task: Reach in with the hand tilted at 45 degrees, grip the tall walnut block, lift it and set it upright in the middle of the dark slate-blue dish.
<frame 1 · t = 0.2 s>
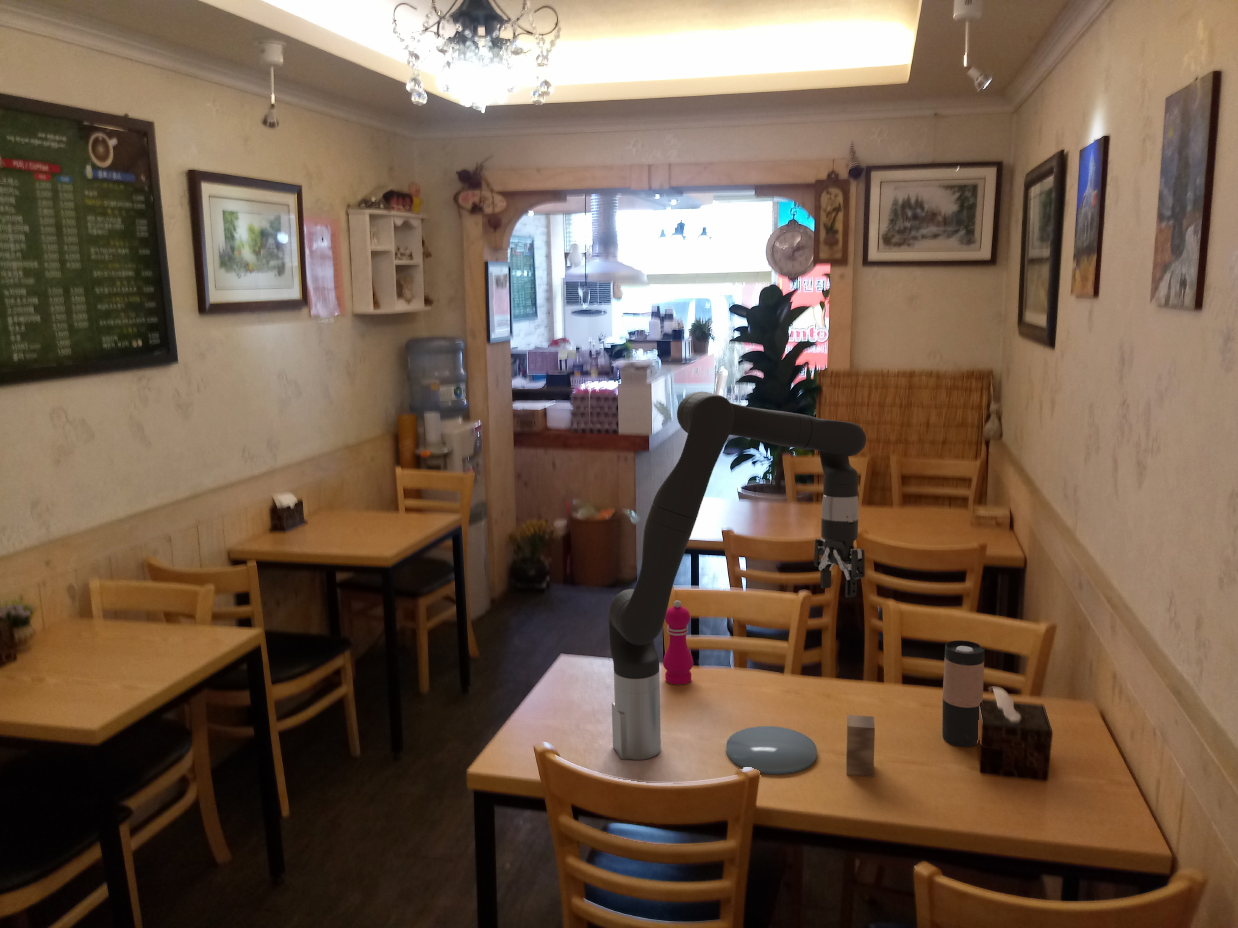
hand: (838, 592, 197), 29 cm above the table, tool pointing down, fingers open, 8 cm apart
travel mug: (960, 739, 192), on the table
slate dish: (771, 751, 188), on the table
pepper mill: (678, 680, 224), on the table
walnut block: (859, 769, 181), on the table
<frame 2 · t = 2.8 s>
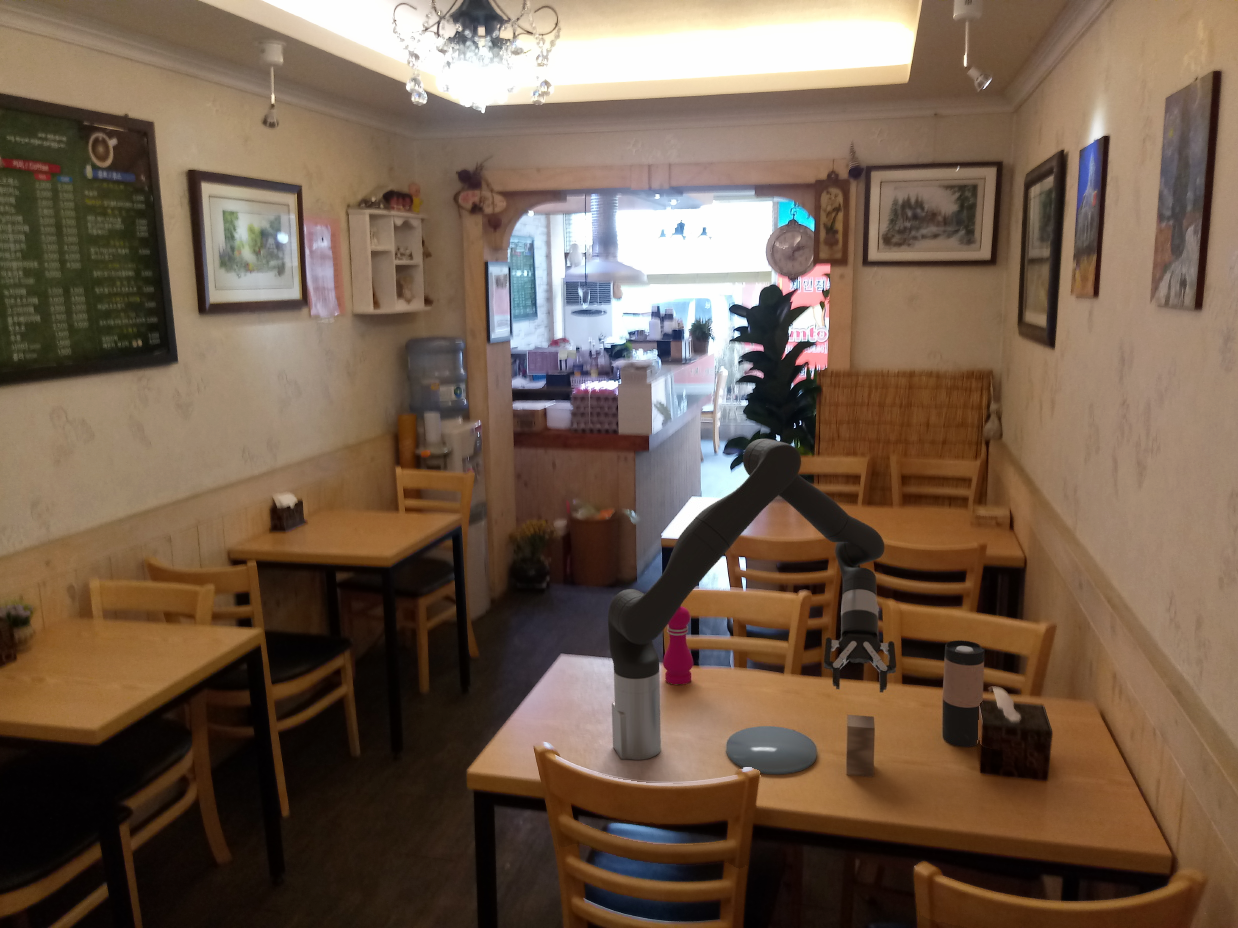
hand: (859, 689, 187), 12 cm above the table, tool tilted 45°, fingers open, 8 cm apart
nothing on the table moved.
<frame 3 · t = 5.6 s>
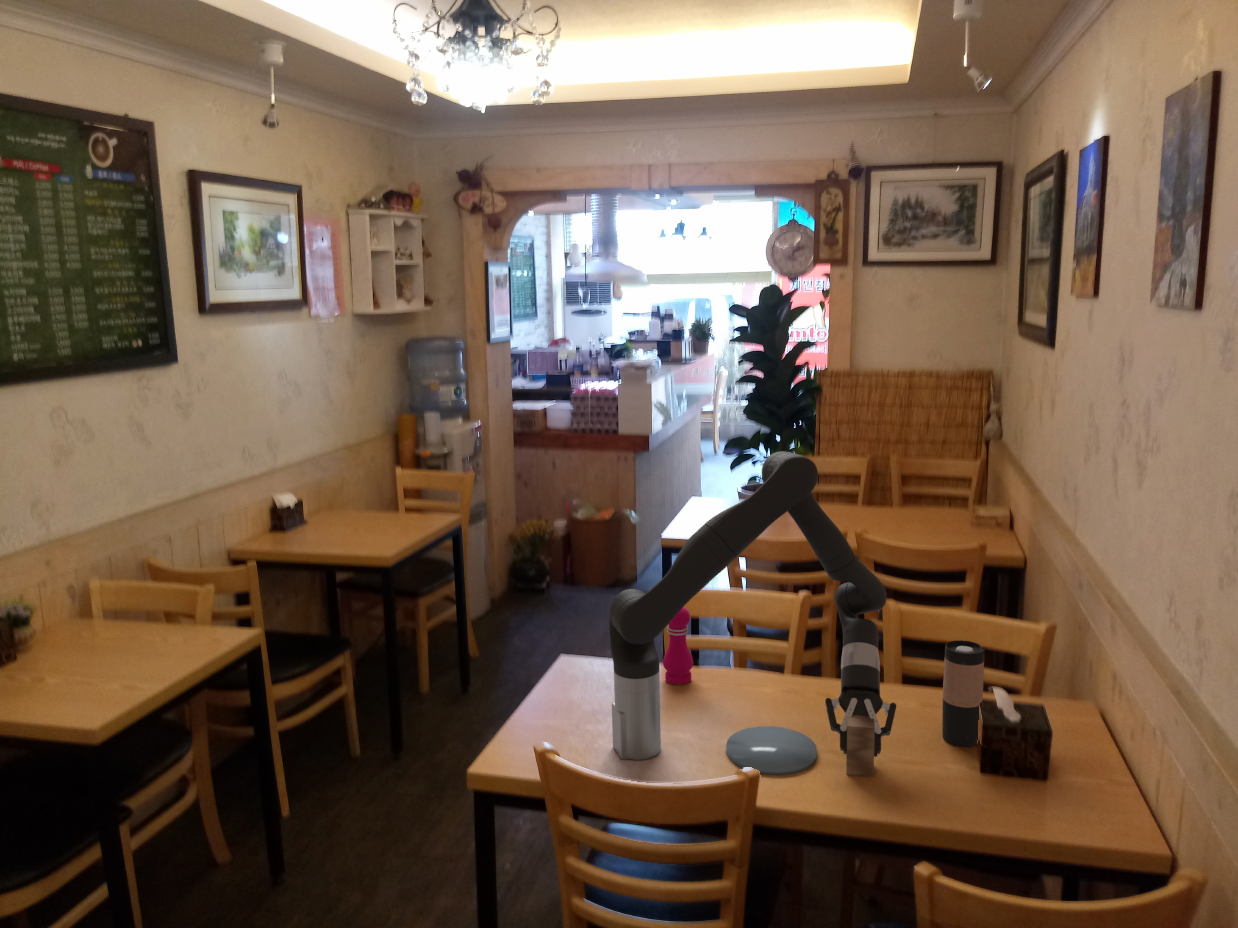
hand: (860, 753, 178), 4 cm above the table, tool tilted 45°, fingers closed on walnut block, 5 cm apart
walnut block: (859, 769, 181), on the table, touching gripper
everything else where it was.
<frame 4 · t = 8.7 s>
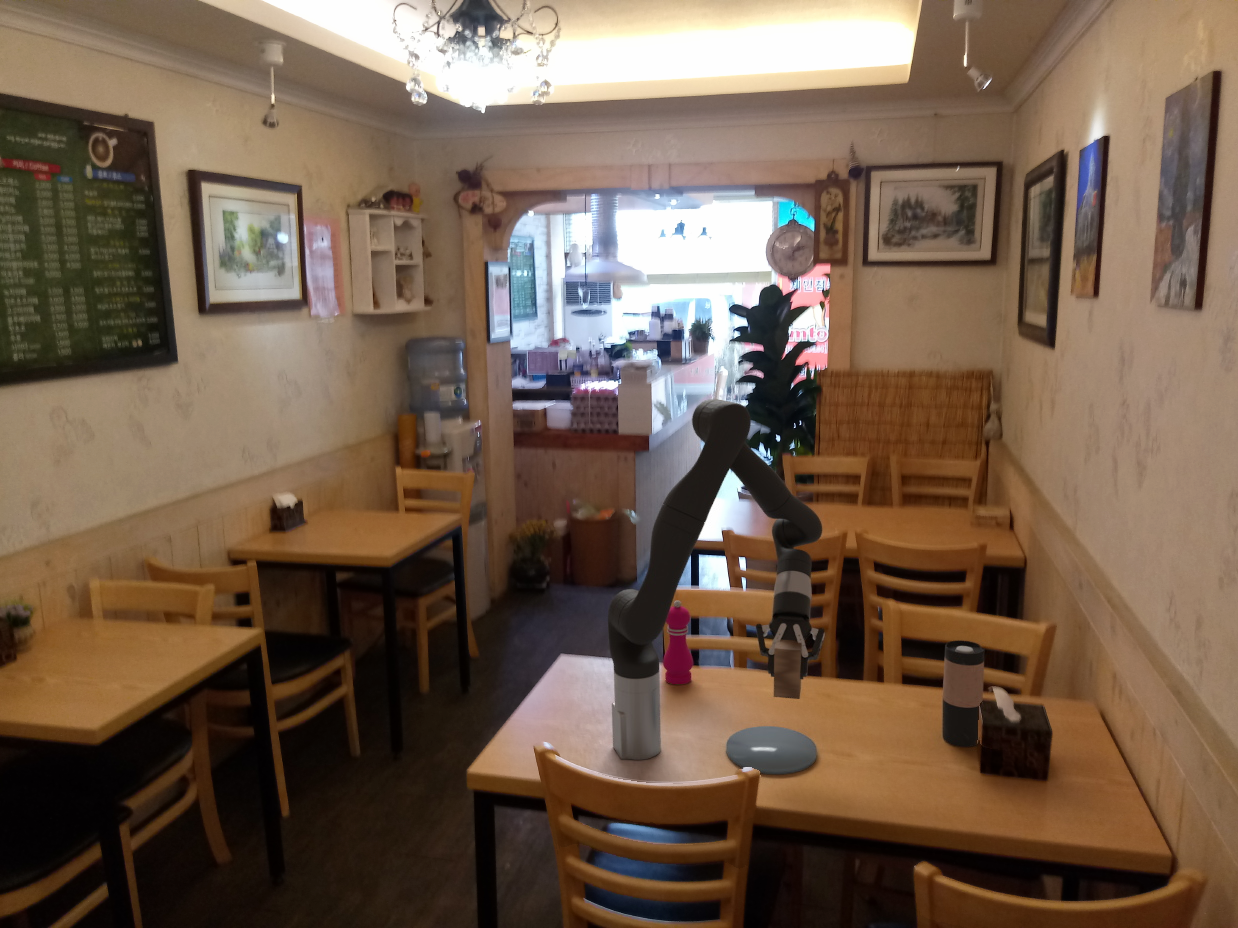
hand: (787, 676, 181), 18 cm above the table, tool tilted 45°, fingers closed on walnut block, 5 cm apart
walnut block: (787, 692, 184), point 14 cm above the table, touching gripper
everything else where it was.
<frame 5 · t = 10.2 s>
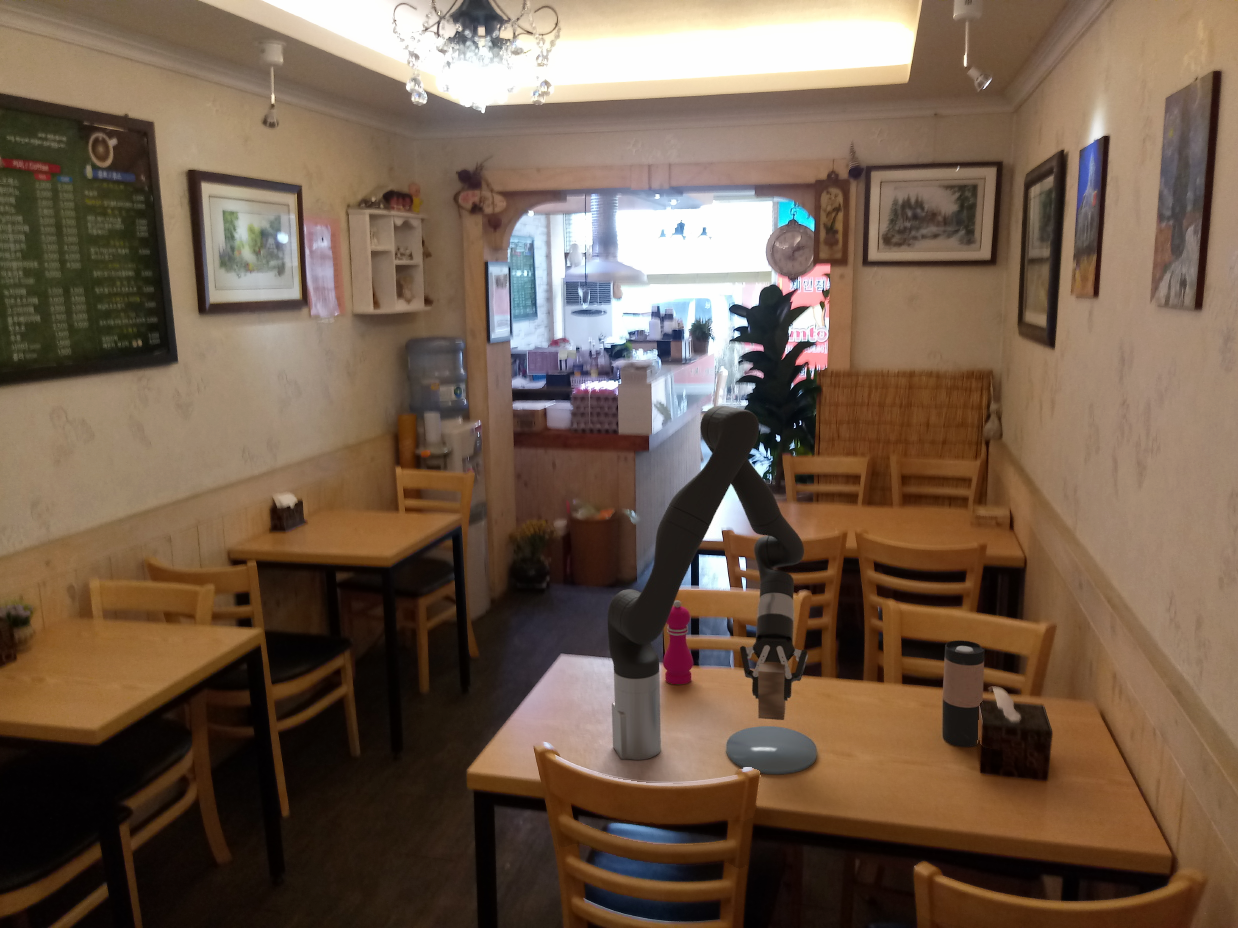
hand: (771, 697, 184), 12 cm above the table, tool tilted 45°, fingers closed on walnut block, 5 cm apart
walnut block: (772, 713, 187), point 8 cm above the table, touching gripper
everything else where it was.
when the fingers open (7 cm above the table, at t = 11.6 s): walnut block drops 1 cm, resting on slate dish.
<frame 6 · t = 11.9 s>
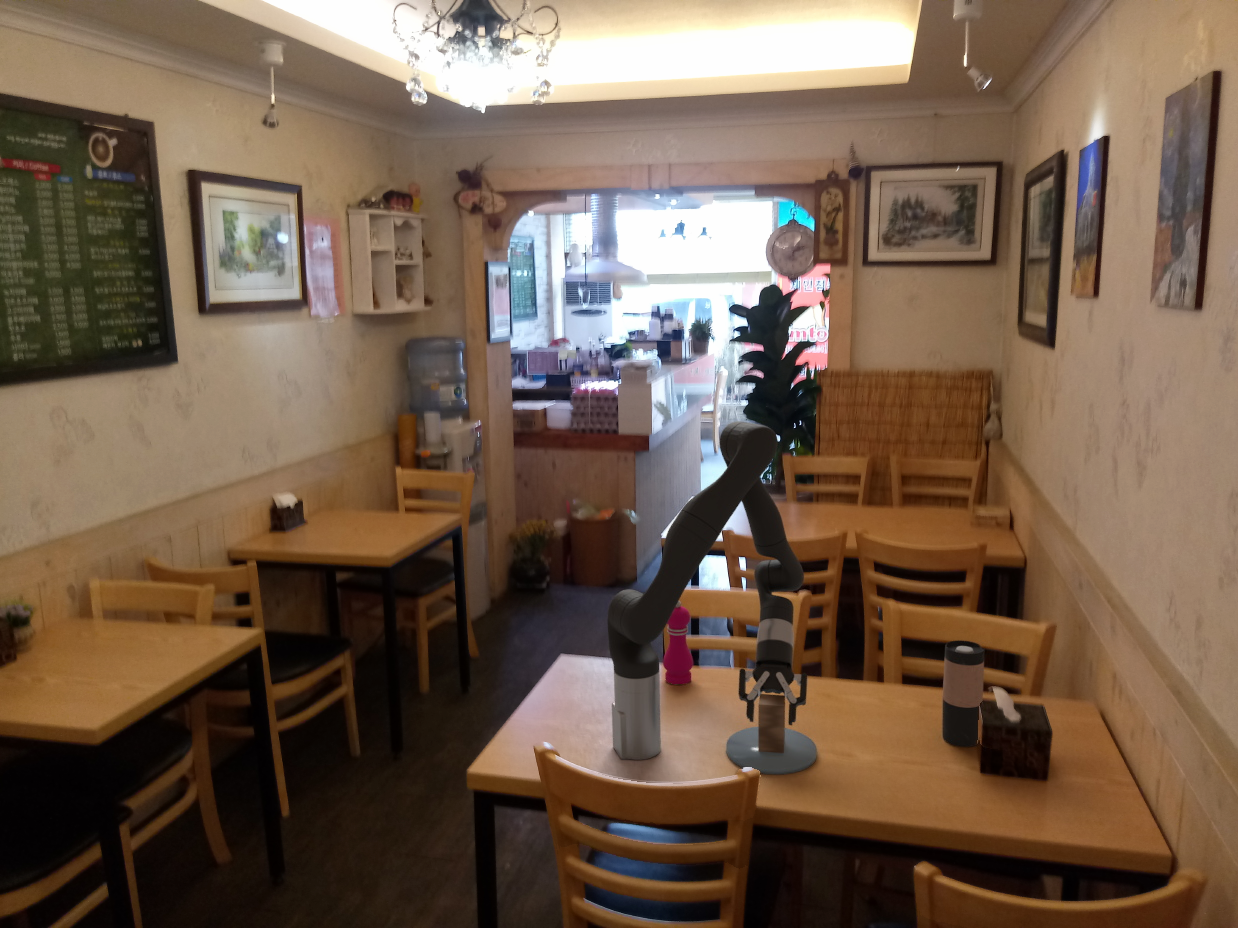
hand: (770, 721, 185), 7 cm above the table, tool tilted 45°, fingers open, 7 cm apart
walnut block: (771, 746, 188), point 1 cm above the table, touching slate dish
everything else where it was.
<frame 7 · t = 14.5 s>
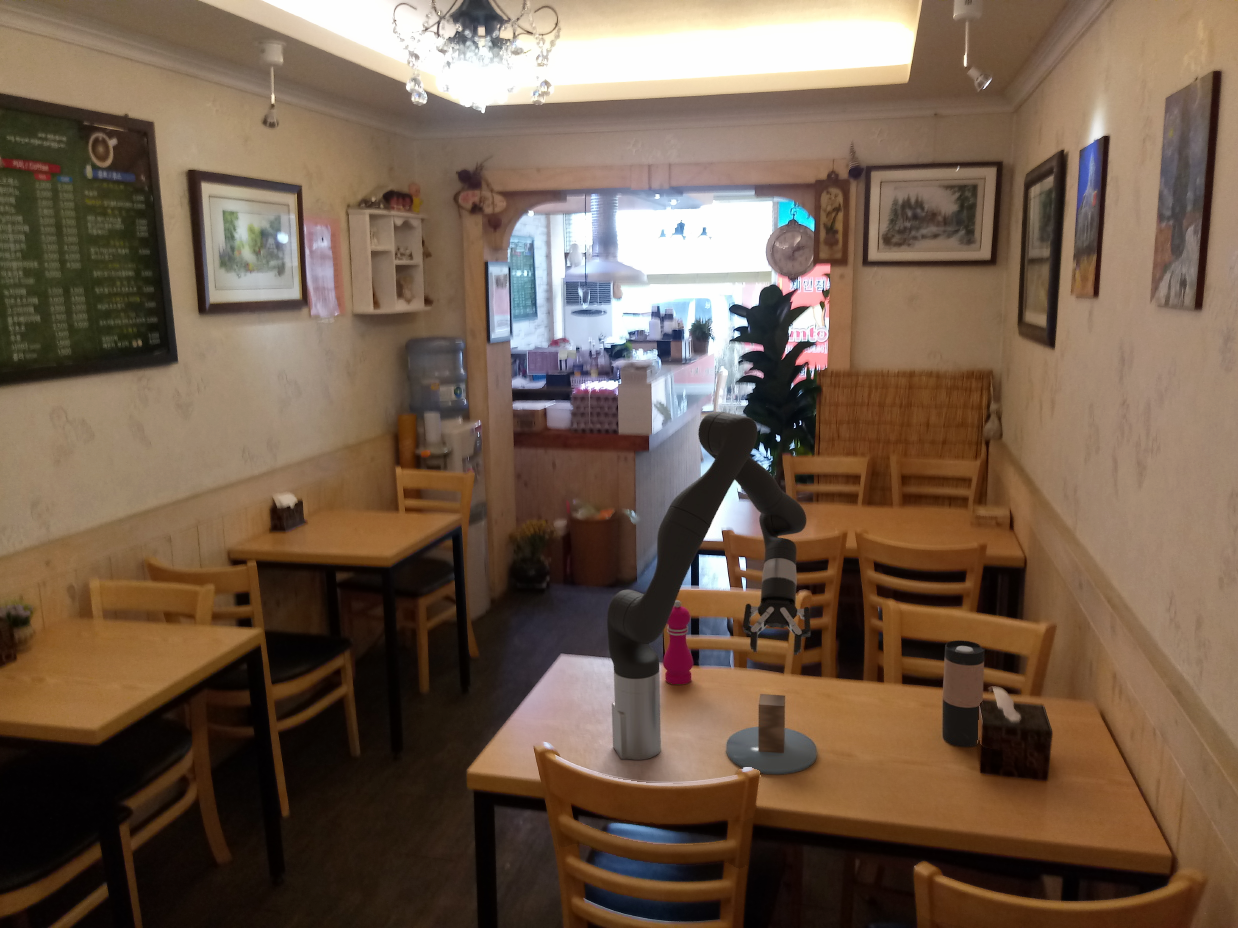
hand: (775, 652, 196), 17 cm above the table, tool tilted 45°, fingers open, 8 cm apart
nothing on the table moved.
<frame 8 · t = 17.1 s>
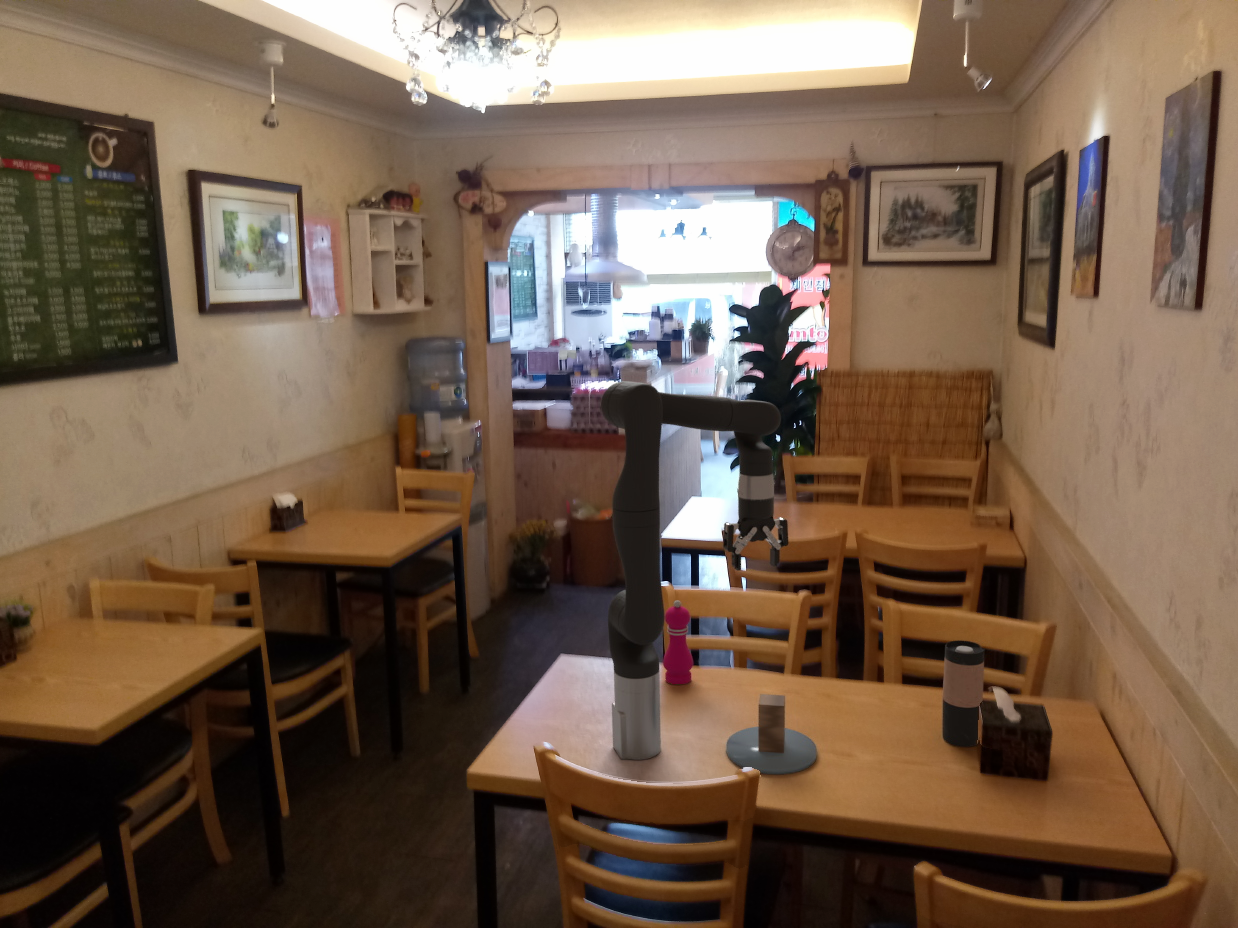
hand: (755, 567, 201), 33 cm above the table, tool pointing down, fingers open, 8 cm apart
nothing on the table moved.
at the end: walnut block inside the target area on the slate dish (0.1 cm from its centre), point 1.2 cm above the slate dish's base; walnut block tilted 0°; the gripper is holding nothing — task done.
